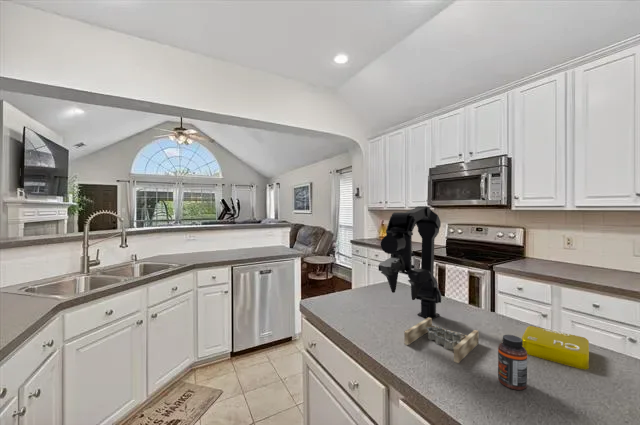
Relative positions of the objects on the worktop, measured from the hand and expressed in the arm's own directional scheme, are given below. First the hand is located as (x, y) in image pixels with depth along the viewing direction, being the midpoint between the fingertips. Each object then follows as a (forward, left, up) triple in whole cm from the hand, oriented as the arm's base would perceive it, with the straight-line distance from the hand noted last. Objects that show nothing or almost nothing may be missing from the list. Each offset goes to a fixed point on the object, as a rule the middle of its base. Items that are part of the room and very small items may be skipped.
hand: (403, 296), depth 98 cm
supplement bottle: (+6, +33, -14) cm, 36 cm away
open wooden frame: (-3, +12, -14) cm, 18 cm away
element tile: (-22, +37, -14) cm, 46 cm away
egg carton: (-6, +12, -14) cm, 19 cm away
